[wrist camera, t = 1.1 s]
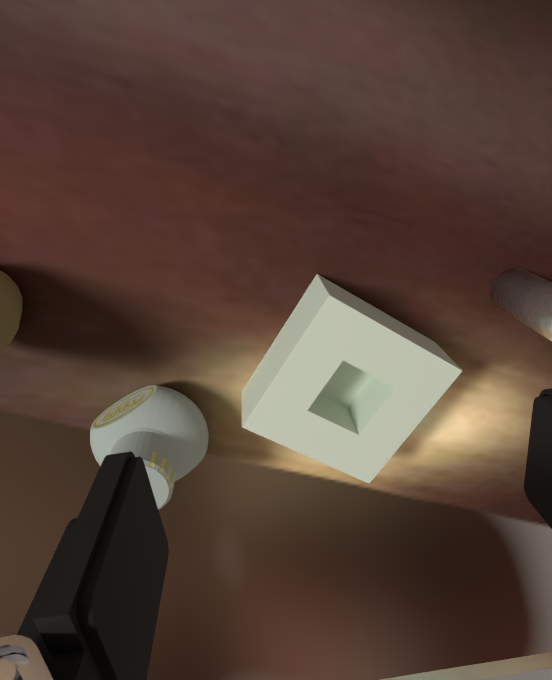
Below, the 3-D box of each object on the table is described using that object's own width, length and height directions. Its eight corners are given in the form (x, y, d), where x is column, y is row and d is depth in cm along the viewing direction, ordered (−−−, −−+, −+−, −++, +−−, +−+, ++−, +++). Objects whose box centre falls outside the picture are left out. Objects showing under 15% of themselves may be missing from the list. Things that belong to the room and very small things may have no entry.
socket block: (317, 273, 41) (329, 295, 35) (435, 342, 45) (462, 370, 39) (241, 392, 45) (241, 427, 40) (354, 444, 49) (369, 483, 44)
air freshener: (178, 364, 43) (162, 424, 34) (223, 424, 47) (220, 494, 38) (85, 414, 45) (47, 485, 36) (135, 470, 48) (112, 547, 39)
